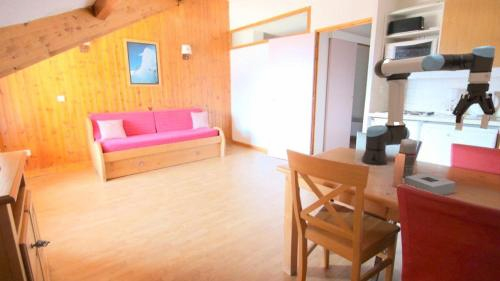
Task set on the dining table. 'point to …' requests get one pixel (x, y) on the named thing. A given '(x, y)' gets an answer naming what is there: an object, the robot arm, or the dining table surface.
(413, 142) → the spray can
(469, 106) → the robot arm
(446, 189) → the socket block
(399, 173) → the dowel
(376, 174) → the dining table surface
